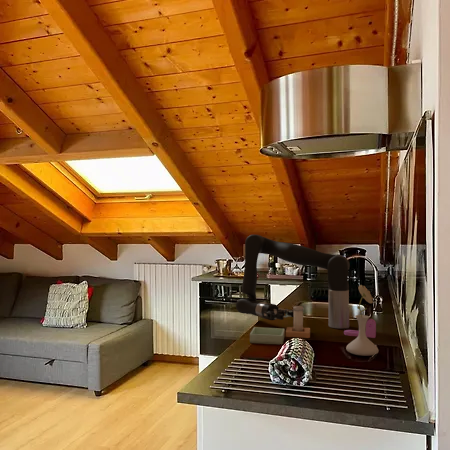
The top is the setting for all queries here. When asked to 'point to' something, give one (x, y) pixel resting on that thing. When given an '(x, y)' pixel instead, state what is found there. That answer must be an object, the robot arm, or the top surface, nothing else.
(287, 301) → the top surface
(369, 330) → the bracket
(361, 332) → the flower in vase
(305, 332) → the fuse holder
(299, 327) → the cylinder
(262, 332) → the tray
